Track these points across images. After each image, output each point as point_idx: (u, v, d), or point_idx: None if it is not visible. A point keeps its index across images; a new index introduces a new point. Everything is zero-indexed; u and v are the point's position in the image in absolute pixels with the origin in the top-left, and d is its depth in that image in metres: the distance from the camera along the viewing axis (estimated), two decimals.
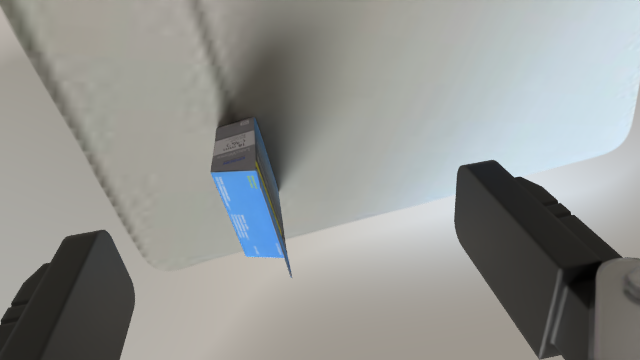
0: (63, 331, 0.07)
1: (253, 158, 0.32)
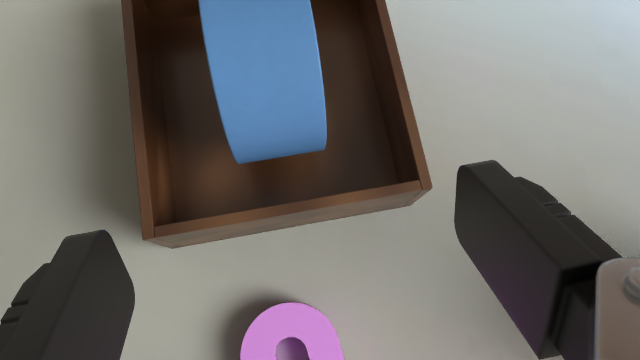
0: (63, 331, 0.07)
1: None
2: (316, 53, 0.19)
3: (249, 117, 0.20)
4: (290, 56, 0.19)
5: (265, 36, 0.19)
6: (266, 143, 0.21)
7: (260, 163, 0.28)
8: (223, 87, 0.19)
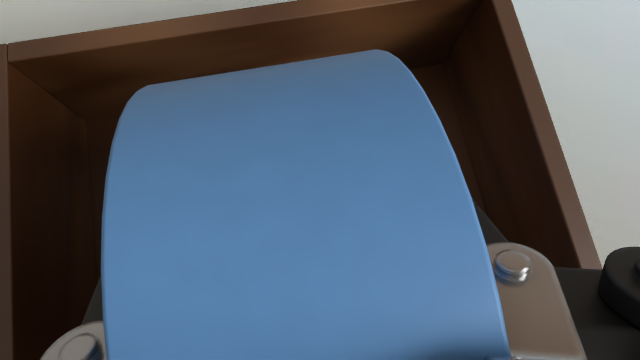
0: None
1: None
2: None
3: None
4: None
5: None
6: None
7: None
8: None
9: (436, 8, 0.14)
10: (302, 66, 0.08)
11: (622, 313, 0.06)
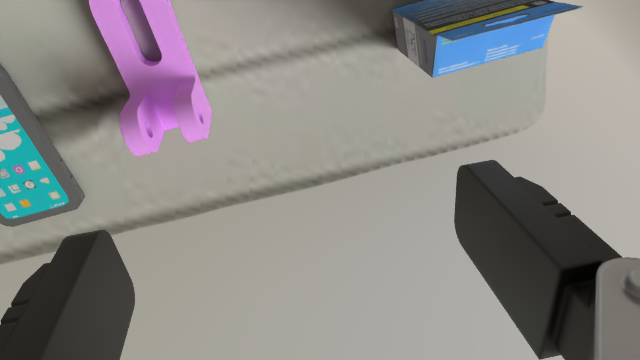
0: (63, 331, 0.07)
1: (426, 33, 0.30)
2: None
3: None
4: None
5: None
6: None
7: None
8: None
9: None
10: None
11: None
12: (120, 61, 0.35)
